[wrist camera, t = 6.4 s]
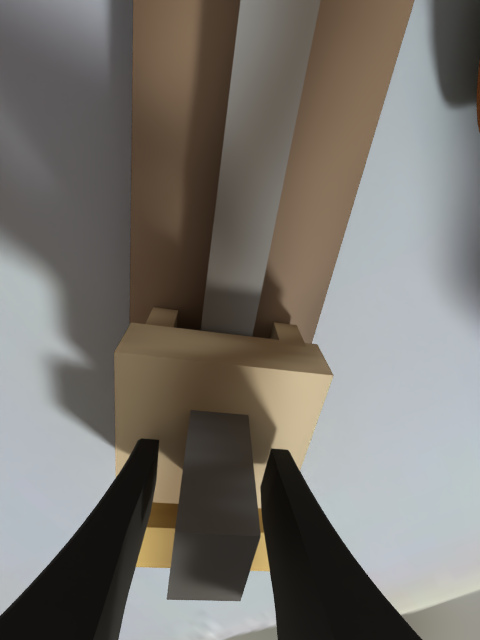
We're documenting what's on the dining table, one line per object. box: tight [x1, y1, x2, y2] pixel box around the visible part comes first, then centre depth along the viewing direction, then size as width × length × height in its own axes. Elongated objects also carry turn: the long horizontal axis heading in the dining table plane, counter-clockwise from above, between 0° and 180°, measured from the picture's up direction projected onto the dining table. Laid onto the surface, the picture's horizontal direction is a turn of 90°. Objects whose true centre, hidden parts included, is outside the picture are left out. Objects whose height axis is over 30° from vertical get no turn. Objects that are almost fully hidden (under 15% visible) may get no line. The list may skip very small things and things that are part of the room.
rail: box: [130, 0, 414, 571], centre depth 11 cm, size 8×28×6 cm, turn 171°
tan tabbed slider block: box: [114, 307, 333, 601], centre depth 11 cm, size 7×7×8 cm
